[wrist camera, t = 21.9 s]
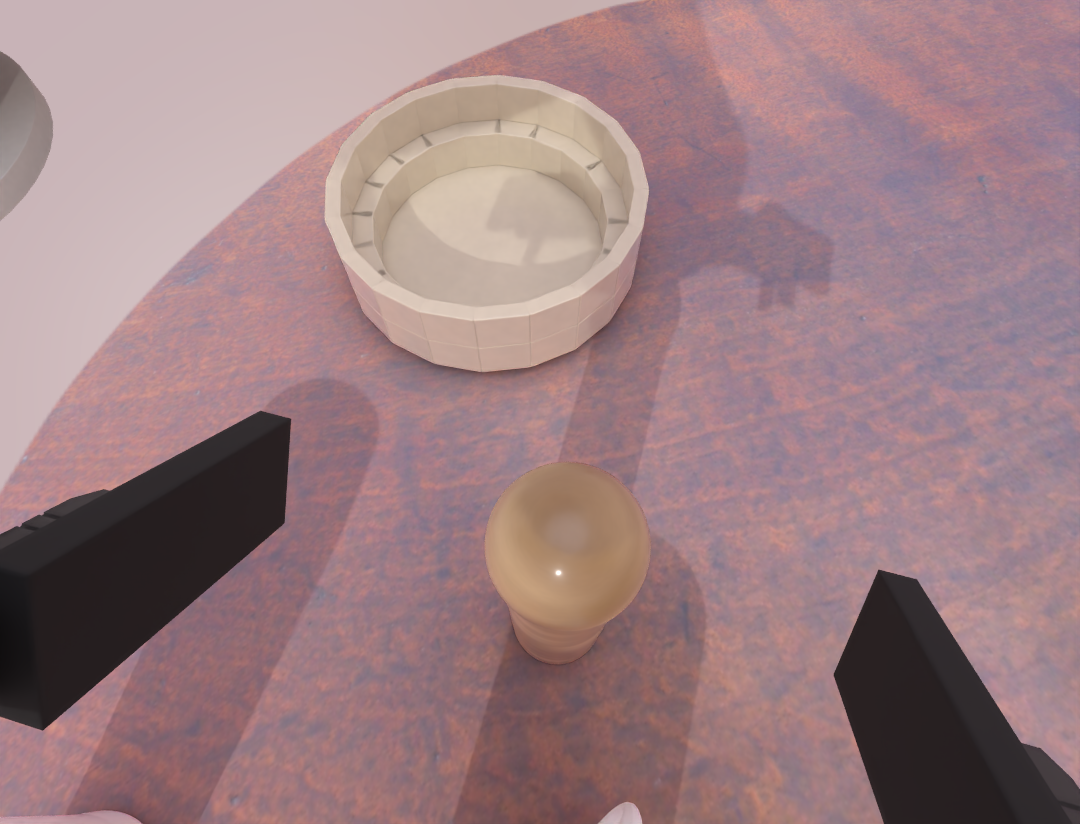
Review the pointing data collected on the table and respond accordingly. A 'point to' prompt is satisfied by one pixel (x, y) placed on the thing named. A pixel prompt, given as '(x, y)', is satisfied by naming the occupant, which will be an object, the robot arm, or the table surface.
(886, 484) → the table surface
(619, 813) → the mug
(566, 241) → the bowl
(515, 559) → the pestle
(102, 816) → the drinking glass
